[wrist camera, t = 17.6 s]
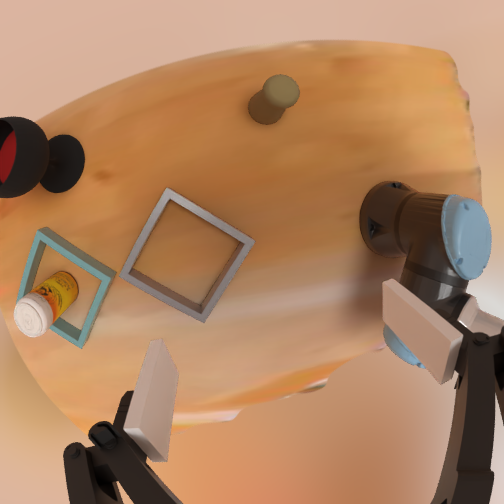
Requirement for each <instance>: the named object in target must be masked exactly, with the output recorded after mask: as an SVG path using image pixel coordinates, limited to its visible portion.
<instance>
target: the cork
mask: <svg viewBox="0 0 504 504" xmlns="http://www.w3.org/2000/svg"><path fill="white" fill-rule="evenodd" d="M299 95H300V90H299V86H298V85H297V83H296V81H294V80H293V79H292V78H291V77H289V76H287V75H282V74H280V75H275V76H272V77H270V78H269V79H268V80H266V82H265V84H264V86H263V89H262V90H261V91H259V92H258V93H257V94H255V95H254V96H253V97H252V98H251V99H250V101H249V104H248V110H249V113H250V115H251V117H252V118H253V119H254V120H255V121H256V122H259V123H261V124H266V125H268V124H273V123H275V122H277V121H278V120H279V119H280V118H281V116H282V114H283V113H284V111H285V109H286V108H289V107H291V106H293V105H294V104H295V103H296V102H297V100H298V98H299Z"/></svg>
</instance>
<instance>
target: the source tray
mask: <svg viewBox="0 0 504 504" xmlns="http://www.w3.org/2000/svg"><path fill="white" fill-rule="evenodd" d="M170 199H171V200H173V201H175V202H176V203H178V204H180V205H181V206H183V207H185V208H186V209H188V210H190V211H191V212H193V213H195V214H196V215H198V216H200V217H201V218H203V219H205V220H206V221H208V222H210V223H211V224H213V225H215V226H216V227H218V228H220V229H221V230H223V231H224V232H226V233H228V234H229V235H231V236H233V237H234V238H236V239H238V240H239V241H241V242H240V244H239V245H238V247H237V248H236V250H235V252H234V253H233V255H232V256H231V258H230V260H229V261H228V263H227V264H226V266H225V268H224V269H223V271H222V272H221V274H220V276H219V277H218V279H217V280H216V282H215V284H214V285H213V287H212V289H211V290H210V292H209V293H208V295H207V297H206V298H205V300H204V302H203V303H202V305H201V306H200V305H198V304H196V303H194V302H192V301H190V300H188V299H187V298H185V297H183V296H181V295H179V294H177V293H176V292H174V291H172V290H170V289H168V288H166V287H165V286H163V285H161V284H159V283H158V282H156V281H154V280H152V279H151V278H149V277H147V276H145V275H144V274H142V273H140V272H138V271H137V270H135V269H133V266H134V264H135V262H136V260H137V258H138V256H139V255H140V253H141V251H142V249H143V247H144V245H145V243H146V241H147V240H148V238H149V236H150V234H151V232H152V231H153V229H154V227H155V225H156V223H157V222H158V220H159V218H160V216H161V215H162V213H163V211H164V209H165V208H166V206H167V204H168V203H169V201H170ZM255 242H256V241H255V240H254V239H253V238H251V237H250V236H248V235H247V234H245V233H243V232H242V231H240V230H238V229H237V228H235V227H233V226H232V225H230V224H229V223H227V222H225V221H224V220H222V219H220V218H219V217H217V216H215V215H214V214H212V213H210V212H209V211H207V210H206V209H204V208H202V207H201V206H199V205H197V204H196V203H194V202H192V201H191V200H189V199H187V198H186V197H184V196H182V195H181V194H179V193H177V192H176V191H174V190H172V189H171V188H168V187H167V188H166V190H165V191H164V193H163V195H162V196H161V198H160V200H159V202H158V203H157V205H156V207H155V208H154V210H153V212H152V214H151V215H150V217H149V219H148V221H147V223H146V224H145V226H144V228H143V230H142V232H141V234H140V236H139V237H138V239H137V241H136V243H135V245H134V247H133V249H132V251H131V253H130V255H129V257H128V259H127V261H126V263H125V265H124V267H123V269H122V271H121V273H120V275H119V277H120V278H122V279H124V280H126V281H127V282H129V283H131V284H132V285H134V286H136V287H138V288H139V289H141V290H143V291H145V292H146V293H148V294H150V295H152V296H154V297H155V298H157V299H159V300H161V301H163V302H164V303H166V304H168V305H170V306H172V307H174V308H176V309H178V310H179V311H181V312H183V313H185V314H187V315H189V316H191V317H193V318H195V319H197V320H199V321H201V322H203V323H204V322H205V321H206V319H207V318H208V316H209V314H210V313H211V311H212V310H213V308H214V306H215V305H216V303H217V302H218V300H219V299H220V297H221V295H222V294H223V292H224V291H225V289H226V287H227V286H228V284H229V283H230V281H231V280H232V278H233V276H234V275H235V273H236V272H237V270H238V268H239V267H240V265H241V264H242V262H243V261H244V259H245V257H246V256H247V254H248V253H249V251H250V249H251V248H252V246H253V245H254V243H255Z"/></svg>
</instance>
